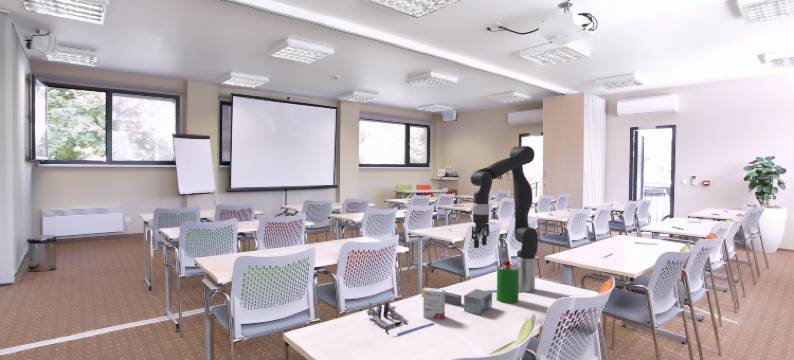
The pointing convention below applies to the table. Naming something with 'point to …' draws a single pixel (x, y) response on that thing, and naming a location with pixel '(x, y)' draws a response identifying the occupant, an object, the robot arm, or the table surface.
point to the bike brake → (385, 314)
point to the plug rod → (449, 298)
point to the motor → (507, 284)
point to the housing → (477, 301)
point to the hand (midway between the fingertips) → (480, 246)
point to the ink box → (434, 303)
